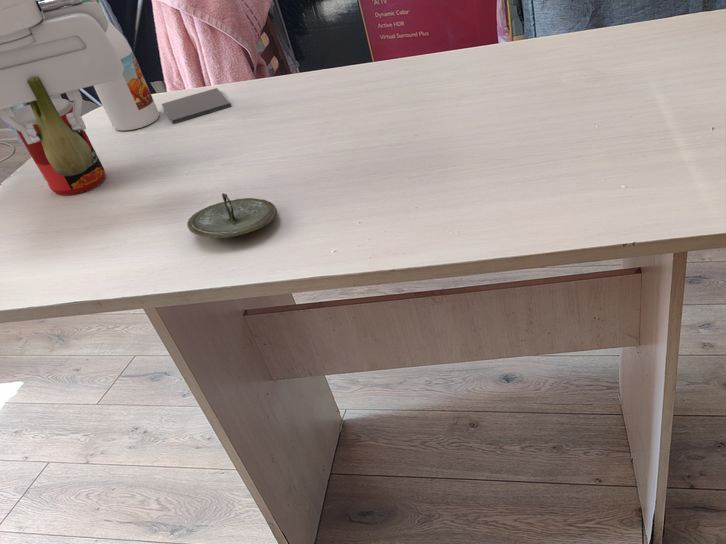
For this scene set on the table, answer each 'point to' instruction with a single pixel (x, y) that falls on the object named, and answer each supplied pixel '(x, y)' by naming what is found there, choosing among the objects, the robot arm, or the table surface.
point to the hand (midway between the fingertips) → (57, 135)
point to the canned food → (54, 180)
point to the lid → (232, 217)
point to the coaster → (195, 105)
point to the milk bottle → (126, 89)
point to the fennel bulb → (58, 135)
